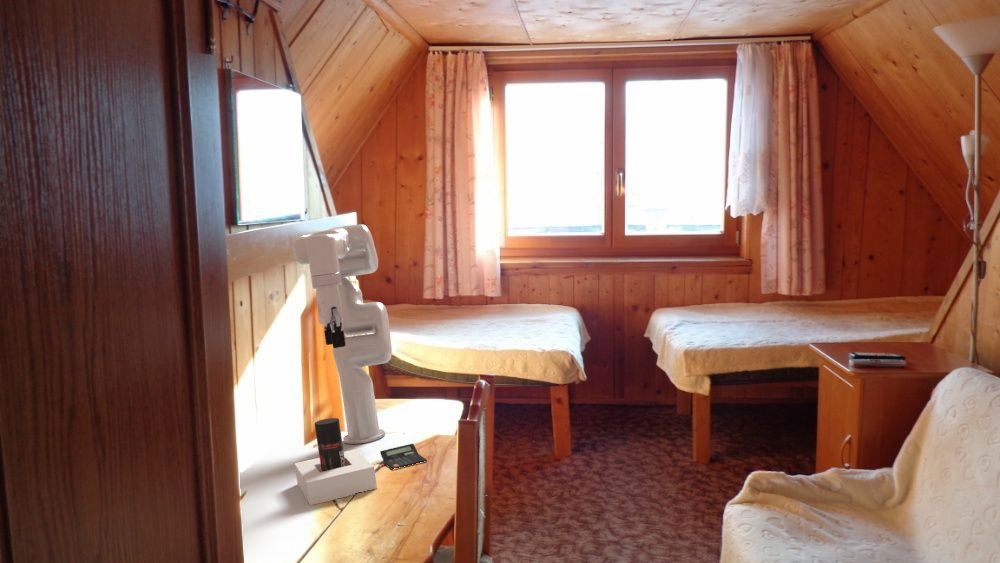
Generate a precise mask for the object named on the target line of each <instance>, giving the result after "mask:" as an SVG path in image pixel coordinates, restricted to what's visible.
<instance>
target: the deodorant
mask: <svg viewBox="0 0 1000 563" xmlns="http://www.w3.org/2000/svg"><path fill="white" fill-rule="evenodd" d="M314 429H315V435H316V442H317V443H316V444H317V448H318V449H317V450H318V456H319V457H318V458H320V464H321V471H322V472H324V471H328V470H332V469H336V468H341V467H345V466H346V465H345V458H344V452H345V450H344V446H343V439H342V438H343V437H342V431H341V424H340V419H339V418H338V417H330V418H323V419H320V420H317V421H315V422H314Z"/></svg>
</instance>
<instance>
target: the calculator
mask: <svg viewBox="0 0 1000 563" xmlns="http://www.w3.org/2000/svg"><path fill="white" fill-rule="evenodd" d="M379 454H380V456H381V458H382V461H383V462H385V463H386V464H387V465H388V466H389V467H388V466H387V465H386V464H385V463H384V464H385V465H386V466H387V467H388V468H390V467H391V468H392V469H394V468H399V467H404V466H408V465H412V464H416V463H420V462H424V461H427V462H428V459H427V458H425V457H424V456H422V455H421V454H420V453H419V452H418V451H417V448H416V446H415V444H414V443H409V444H405V445H404V444H403V445H401V446H396V447H392V448H388V449H383V450H380V453H379ZM424 463H425V462H424ZM420 464H421V463H420ZM416 465H417V464H416ZM412 466H413V465H412ZM408 467H409V466H408ZM391 468H390V469H391ZM404 468H405V467H404ZM392 469H391V470H392Z"/></svg>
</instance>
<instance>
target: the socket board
mask: <svg viewBox="0 0 1000 563" xmlns="http://www.w3.org/2000/svg"><path fill="white" fill-rule="evenodd" d="M344 458H345V465H346V466H345V467H341V468H336V469H332V470H328V471H324V472H322V471H321V464H320V457H317V458H316V457H315V458H312V459H309V460H303V461H297V462H295V463H293V464H294V469H295V475H296V482H297V486H298V485H299V486H298V488H299V489H300V491H301V492H302V494H303V495H304V498H305V499H306V502H308V504H309V506H314V505H317V504H322V503H326V502H327V503H328V502H330V501H335V500H337V499H338V498H339V499H342V498H346V497H350V496H353V495H352V494H354V495H356V494H355V493H358V492H362V493H364V492H363V491H366V492H368V491H367V490H370V491H373V490H372V489H374V490H377V489H378V484H377V478H376V471H375V466H374V465H373V464H372V463H371V462H370V461H369V460H368V459H367V458H366V457H365V456H364V455H363V454H361V452H359V451H358V449H357V448H356V449H351V450H347V451H344ZM376 488H377V489H376ZM358 494H359V493H358ZM349 495H350V496H349Z"/></svg>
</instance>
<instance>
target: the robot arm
mask: <svg viewBox="0 0 1000 563" xmlns="http://www.w3.org/2000/svg"><path fill="white" fill-rule="evenodd" d="M292 250H293V255H294V258H295V261H296V262H298V263H299V264H300V265H309V270H310V279H311V286H312V290H315V293H316V294H315V297H316V305H317V307H316V308H317V314H318V322H319V324H320V325H322V326H323V329H324V330H323V333H324V340H325V345H327V346H328V345H332V353H333V354H332V355H333V359H334V362H335V365H336V369H337V372H338V376H339V382H340V387H341V395H342V402H343V407H344V416H345V424H346V429H347V435H346V434H345V436H344V437H342V438H343V439H342V441H343V443H345V444H348V445H358V444H365V443H370V442H374V441H377V440H379V439H381V438H384V436H385V435H386V432H385V430H384V429H380V427H379V420H378V419H379V418H378V412H377V406H376V397H375V391H374V384H373V380H372V377H371V376H370V375H369V373H368V372H366V371H365V370H364V369H363V368H365V367H369V366H377V365H381V364H387V363H389V361H391V360H392V355H393V354H392V353H393V350H392V341H391V340H392V338H391V330H390V320H389V314H388V310H387V308H386V305H385V304H384V303H382V302H380V301H371V302H363V293H362V290H361V289H360V287H358V286H357V284H355V282H354V281H352V280H350V279H348V278H347V277H356V276H362V275H368V274H373V273H375V272H376V271H377V270H378V267H379V258H378V254H377V250H376V246H375V242H374V239H373V235H372V233H371V230H370V229H369V228H368V227H367V226H366V225H365V224H361V223H359V224H352V225H351V224H350V225H342V226H334V227H332V228H329V229H326V230H321V231H318V232H314V233H310V234H305V235H301V236H298V237H296V239H295V240H294V243H293V248H292Z"/></svg>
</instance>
